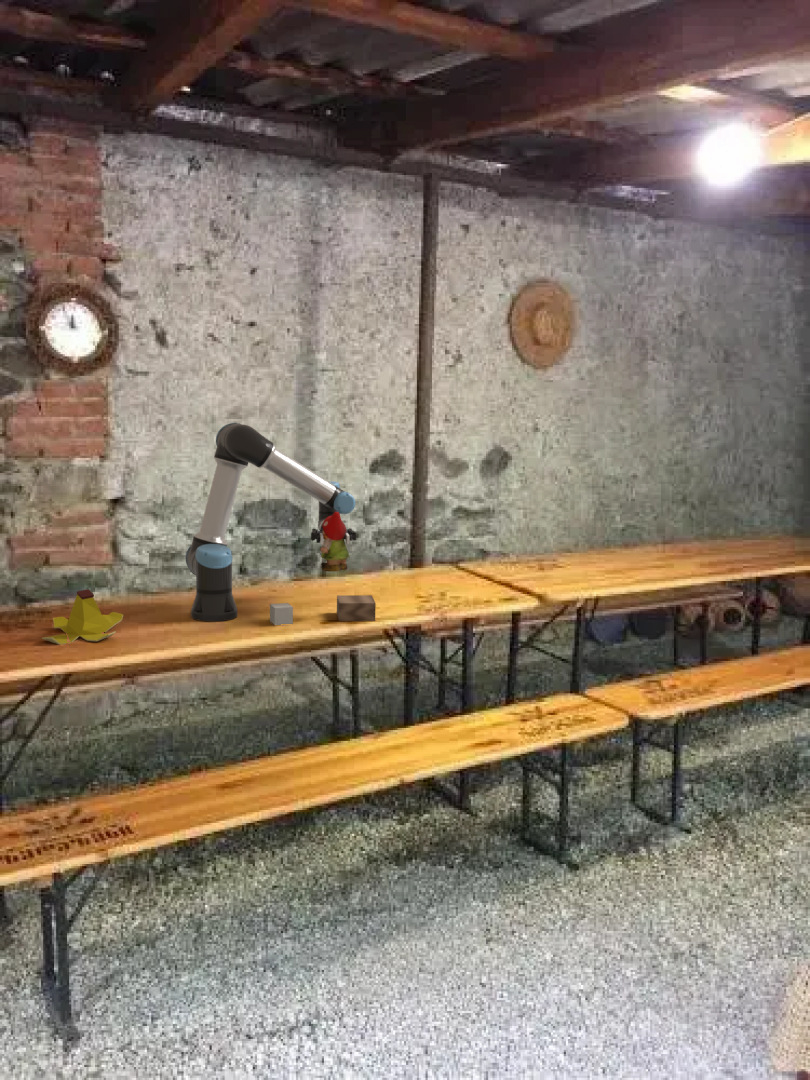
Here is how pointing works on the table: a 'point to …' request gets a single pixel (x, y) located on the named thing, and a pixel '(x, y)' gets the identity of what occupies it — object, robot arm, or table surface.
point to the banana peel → (84, 621)
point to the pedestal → (356, 608)
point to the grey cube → (281, 613)
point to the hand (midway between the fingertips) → (335, 540)
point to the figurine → (334, 544)
